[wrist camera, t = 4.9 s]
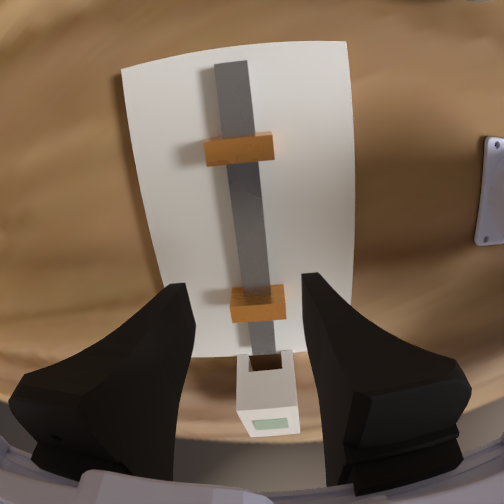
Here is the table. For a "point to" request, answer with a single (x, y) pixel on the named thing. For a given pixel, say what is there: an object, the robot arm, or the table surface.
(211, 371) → the table surface
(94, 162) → the table surface
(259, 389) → the block
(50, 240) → the table surface
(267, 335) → the din rail
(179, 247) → the rail board
